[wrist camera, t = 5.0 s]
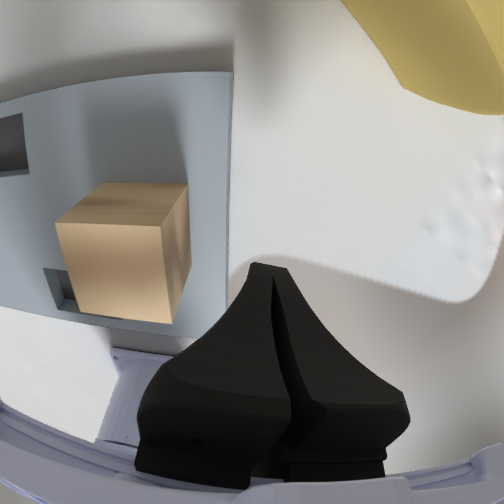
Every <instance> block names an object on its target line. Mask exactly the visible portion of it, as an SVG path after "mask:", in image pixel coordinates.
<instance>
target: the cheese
mask: <svg viewBox="0 0 504 504" xmlns="http://www.w3.org/2000/svg"><path fill="white" fill-rule="evenodd" d="M341 2H342V3H343V4H344V5H345V7H346V8H347V9H348V10H349V11H350V13H351V14H352V15H353V16H354V18H355V19H356V20H357V21H358V23H359V24H360V25H361V26H362V28H363V29H364V30H365V32H366V33H367V34H368V36H369V37H370V38H371V40H372V41H373V42H374V44H375V45H376V46H377V48H378V49H379V50H380V52H381V53H382V55H383V56H384V58H385V59H386V61H387V63H388V64H389V66H390V67H391V69H392V71H393V72H394V74H395V76H396V77H397V79H398V81H399V82H400V84H401V86H402V87H403V88H404V89H407V90H409V91H411V92H413V93H415V94H417V95H419V96H422V97H424V98H426V99H428V100H431V101H434V102H437V103H440V104H443V105H447V106H450V107H453V108H457V109H460V110H464V111H468V112H472V113H477V114H483V115H504V0H341Z"/></svg>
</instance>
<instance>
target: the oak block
mask: <svg viewBox="0 0 504 504" xmlns="http://www.w3.org/2000/svg"><path fill="white" fill-rule="evenodd" d="M55 225H56V230H57V234H58V238H59V242H60V246H61V250H62V254H63V257H64V261H65V264H66V268H67V271H68V275H69V278H70V281H71V285H72V288H73V291H74V294H75V297H76V300H77V303H78V306H79V309H80V312H85V313H92V314H98V315H105V316H112V317H119V318H126V319H134V320H141V321H150V322H158V323H167V324H172V323H173V320H174V317H175V314H176V311H177V308H178V305H179V302H180V299H181V296H182V293H183V290H184V287H185V284H186V281H187V278H188V275H189V272H190V269H191V266H192V259H191V240H190V218H189V188H188V183H102V184H101V185H99V186H98V187H97V188H95V189H94V190H93V191H92V192H90V193H89V194H88V195H87V196H85V197H84V198H83V199H82V200H81V201H79V202H78V203H77V204H76V205H75V206H73V207H72V208H71V209H70V210H69V211H68V212H66V213H65V214H64V215H63V216H62V217H61V218H59V219H58V220H57V221H56V222H55Z"/></svg>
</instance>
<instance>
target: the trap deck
mask: <svg viewBox="0 0 504 504" xmlns="http://www.w3.org/2000/svg"><path fill="white" fill-rule="evenodd" d="M233 73H234V72H220V71H211V72H176V73H159V74H147V75H136V76H127V77H119V78H111V79H104V80H98V81H91V82H86V83H80V84H75V85H69V86H65V87H60V88H55V89H51V90H46V91H42V92H38V93H34V94H30V95H26V96H23V97H19V98H16V99H12V100H9V101H6V102H2V103H0V306H3V307H8V308H12V309H16V310H20V311H24V312H29V313H33V314H38V315H43V316H47V317H52V318H57V319H62V320H67V321H73V322H78V323H84V324H89V325H95V326H101V327H108V328H114V329H121V330H127V331H135V332H142V333H150V334H158V335H166V336H175V337H184V338H194V339H199V338H200V337H201V336H203V335H204V334H205V333H206V332H207V331H208V330H209V329H210V328H211V327H212V326H213V325H214V324H215V323H216V322H217V321H218V320H219V319H220V318H221V317H222V315H223V314H224V313H225V312H226V311H227V309H228V231H229V185H230V150H231V121H232V96H233ZM102 183H188V188H189V218H190V240H191V259H192V266H191V269H190V272H189V275H188V278H187V281H186V284H185V287H184V290H183V293H182V296H181V299H180V302H179V305H178V308H177V311H176V314H175V317H174V320H173V323H172V324H167V323H158V322H150V321H141V320H134V319H126V318H119V317H112V316H105V315H98V314H92V313H85V312H80V309H79V306H78V303H77V300H76V297H75V294H74V291H73V288H72V285H71V281H70V278H69V275H68V271H67V268H66V264H65V261H64V257H63V254H62V250H61V246H60V242H59V238H58V234H57V230H56V225H55V222H56V221H57V220H58V219H59V218H61V217H62V216H63V215H64V214H65V213H66V212H68V211H69V210H70V209H71V208H72V207H73V206H75V205H76V204H77V203H78V202H79V201H81V200H82V199H83V198H84V197H85V196H87V195H88V194H89V193H90V192H92V191H93V190H94V189H95V188H97V187H98V186H99V185H101V184H102Z"/></svg>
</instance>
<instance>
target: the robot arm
mask: <svg viewBox="0 0 504 504" xmlns="http://www.w3.org/2000/svg"><path fill="white" fill-rule="evenodd" d="M110 355H111V358H112V360H113V363H114V365H115V368H116V370H117V373H118V375H119V378H118V381H117V383H116V386H115V389H114V391H113V394H112V397H111V399H110V402H109V405H108V408H107V411H106V413H105V416H104V419H103V422H102V425H101V428H100V431H99V434H98V437H97V438H96V439H95V442H94V443H91V442H88V441H86V440H83V439H80V438H78V437H75V436H72V435H70V434H67V433H65V432H62V431H60V430H58V429H55V428H53V427H51V426H48V425H46V424H44V423H42V422H39V421H37V420H35V419H33V418H31V417H29V416H27V415H25V414H23V413H21V412H19V411H17V410H15V409H13V408H11V407H9V406H7V405H5V404H4V403H3V402H2V400H1V398H0V482H1V483H2V484H4V485H6V486H7V487H9V488H11V489H13V490H14V491H16V492H17V493H19V494H21V495H23V496H25V497H26V498H28V499H31V500H32V501H34V502H36V503H38V504H496V503H498V502H499V501H501V500H503V499H504V446H503V443H498V444H495V445H491V446H488V447H486V448H483V449H482V450H480V451H478V452H477V453H476V454H474V455H473V456H472V457H471V458H470V459H466V460H462V461H459V462H454V463H450V464H446V465H442V466H437V467H433V468H427V469H422V470H416V471H410V472H404V473H398V474H390V475H385V471H384V466H383V461H384V460H386V459H387V453H386V447H387V446H388V445H390V444H391V443H392V442H393V441H394V440H395V439H397V438H398V437H399V436H400V435H401V434H402V433H403V432H404V431H405V430H406V429H407V427H408V425H409V423H410V415H409V411H408V408H407V404H406V401H405V398H404V395H403V393H402V392H401V391H400V390H398V389H397V388H395V387H394V386H392V385H390V384H389V383H387V382H386V381H384V380H382V379H381V378H380V377H378V376H377V375H376V374H374V373H373V372H371V371H370V370H369V369H368V368H366V367H365V366H364V365H363V364H361V363H360V362H359V361H358V360H357V359H356V358H354V357H353V356H352V355H351V354H350V353H349V352H348V351H347V350H346V349H345V348H344V347H343V346H342V345H341V344H340V343H339V342H338V341H337V340H336V339H335V338H334V337H333V336H332V335H331V333H330V332H329V331H328V330H327V329H326V328H325V327H324V325H323V324H322V323H321V321H320V320H319V319H318V317H317V316H316V315H315V313H314V312H313V310H312V309H311V308H310V306H309V305H308V303H307V302H306V300H305V298H304V297H303V295H302V294H301V292H300V290H299V289H298V287H297V285H296V284H295V282H294V280H293V278H292V277H291V275H290V273H289V271H288V270H287V268H282V267H277V266H272V265H267V264H262V263H257V262H253V263H251V264H250V268H249V272H248V276H247V279H246V282H245V283H244V285H243V287H242V289H241V291H240V292H239V294H238V296H237V297H236V298H235V300H234V301H233V303H232V304H231V305H230V307H229V308H228V309H227V311H226V312H225V313H224V314H223V315H222V317H221V318H220V319H219V320H218V321H217V322H216V323H215V324H214V325H213V326H212V327H211V328H210V329H209V330H208V331H207V332H206V333H205V334H204V335H203V336H201V337H200V338H199V339H198V340H196V341H195V342H194V343H193V344H191V345H190V346H189V347H188V348H186V349H185V350H183V351H182V352H181V353H179V354H177V355H176V356H174V357H173V356H165V355H158V354H150V353H143V352H137V351H130V350H124V349H118V348H111V350H110Z"/></svg>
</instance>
